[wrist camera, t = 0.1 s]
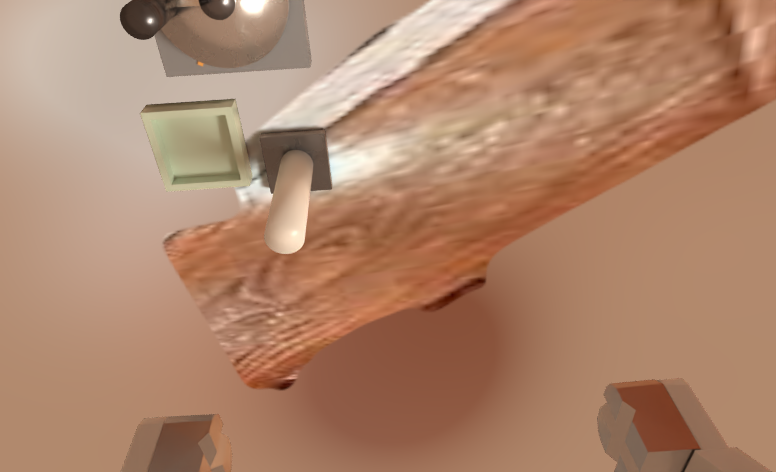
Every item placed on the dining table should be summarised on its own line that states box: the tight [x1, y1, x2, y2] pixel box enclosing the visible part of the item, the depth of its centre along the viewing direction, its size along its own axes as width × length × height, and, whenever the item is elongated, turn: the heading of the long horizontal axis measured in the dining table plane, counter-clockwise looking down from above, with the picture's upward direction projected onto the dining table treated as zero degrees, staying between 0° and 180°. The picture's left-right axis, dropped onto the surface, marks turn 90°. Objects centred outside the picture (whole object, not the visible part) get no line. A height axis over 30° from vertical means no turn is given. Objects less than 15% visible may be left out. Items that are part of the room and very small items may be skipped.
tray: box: [140, 99, 252, 192], centre depth 58 cm, size 9×9×2 cm
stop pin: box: [264, 150, 313, 254], centre depth 54 cm, size 4×4×14 cm
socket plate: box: [260, 129, 332, 194], centre depth 60 cm, size 7×7×1 cm
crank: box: [120, 0, 290, 68], centre depth 45 cm, size 12×12×8 cm
